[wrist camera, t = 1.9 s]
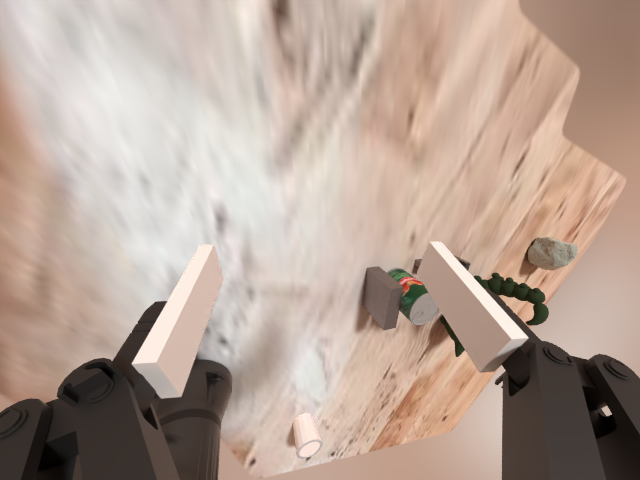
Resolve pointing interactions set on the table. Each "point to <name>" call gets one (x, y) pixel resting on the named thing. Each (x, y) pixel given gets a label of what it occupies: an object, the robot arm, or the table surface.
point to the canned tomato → (414, 298)
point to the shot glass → (306, 436)
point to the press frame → (386, 295)
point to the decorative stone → (551, 253)
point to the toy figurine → (509, 290)
